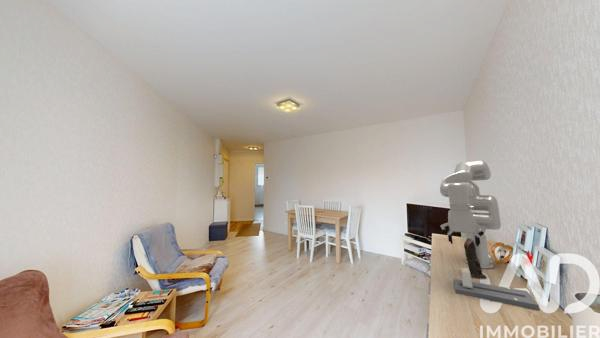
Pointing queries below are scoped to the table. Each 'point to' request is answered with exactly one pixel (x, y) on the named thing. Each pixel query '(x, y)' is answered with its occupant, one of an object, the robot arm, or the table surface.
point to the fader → (466, 278)
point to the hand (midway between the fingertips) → (464, 244)
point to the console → (497, 294)
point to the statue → (473, 260)
